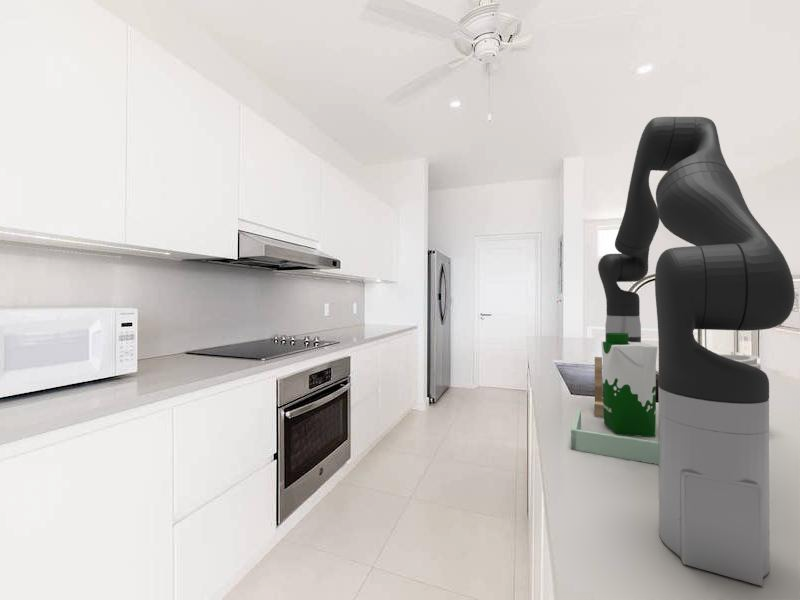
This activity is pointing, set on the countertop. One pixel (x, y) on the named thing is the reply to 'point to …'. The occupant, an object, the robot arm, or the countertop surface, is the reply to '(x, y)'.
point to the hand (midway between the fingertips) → (623, 403)
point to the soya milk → (629, 385)
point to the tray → (612, 444)
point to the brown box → (598, 388)
